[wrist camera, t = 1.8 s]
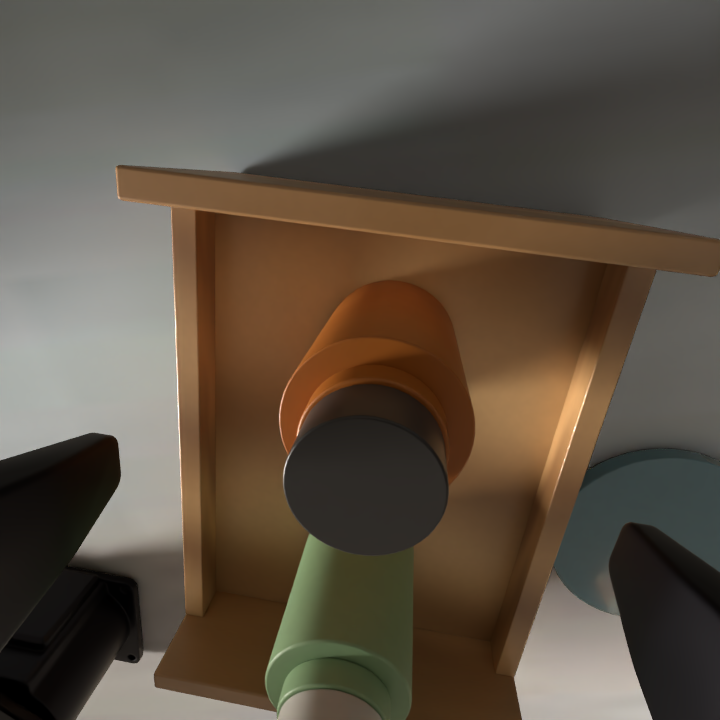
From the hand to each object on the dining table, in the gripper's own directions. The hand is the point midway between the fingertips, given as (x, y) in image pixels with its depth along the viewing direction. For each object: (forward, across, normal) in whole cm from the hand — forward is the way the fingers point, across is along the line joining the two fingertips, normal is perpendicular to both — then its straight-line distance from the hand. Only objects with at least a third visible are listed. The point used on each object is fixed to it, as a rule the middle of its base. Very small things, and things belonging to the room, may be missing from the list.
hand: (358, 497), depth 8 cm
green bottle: (+8, 0, +9) cm, 12 cm away
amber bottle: (+8, 0, 0) cm, 8 cm away
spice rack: (+12, 0, +4) cm, 13 cm away
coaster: (+12, -13, +8) cm, 20 cm away
